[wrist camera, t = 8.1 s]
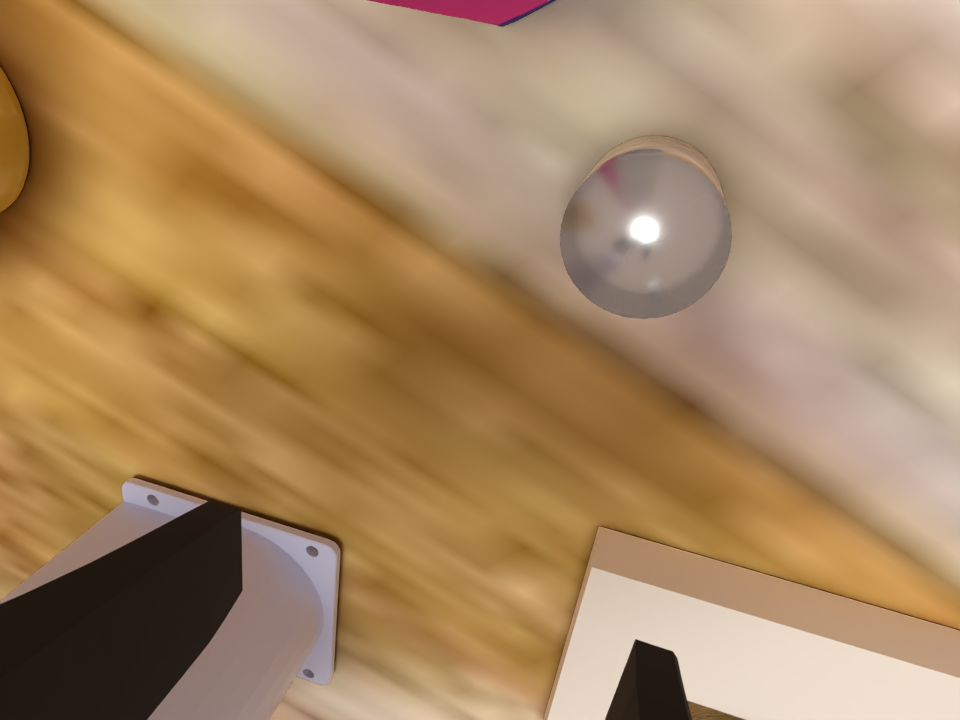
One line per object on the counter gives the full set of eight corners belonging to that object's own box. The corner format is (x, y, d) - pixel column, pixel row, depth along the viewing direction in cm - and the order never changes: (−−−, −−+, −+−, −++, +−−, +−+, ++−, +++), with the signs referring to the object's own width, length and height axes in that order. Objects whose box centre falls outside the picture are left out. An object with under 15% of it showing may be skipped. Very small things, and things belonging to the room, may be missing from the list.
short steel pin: (568, 257, 19) (546, 298, 15) (597, 123, 17) (579, 139, 14) (698, 286, 18) (702, 335, 15) (741, 150, 16) (755, 173, 13)
